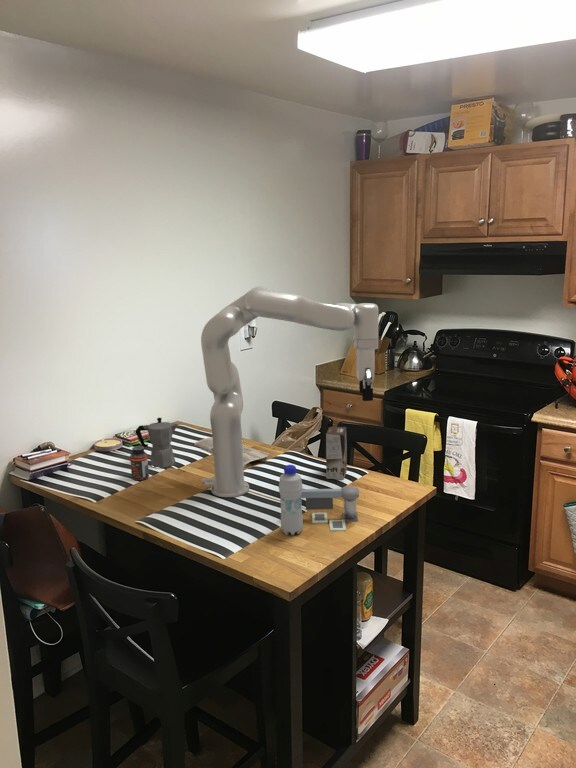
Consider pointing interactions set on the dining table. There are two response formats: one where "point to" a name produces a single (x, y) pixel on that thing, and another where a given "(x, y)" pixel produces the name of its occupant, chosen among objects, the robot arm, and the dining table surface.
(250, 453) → the newspaper
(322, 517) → the label tile
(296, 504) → the bottle
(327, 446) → the coffee box
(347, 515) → the post
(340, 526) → the label tile
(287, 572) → the dining table surface
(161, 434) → the coffeepot
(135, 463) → the supplement bottle
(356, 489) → the bar
